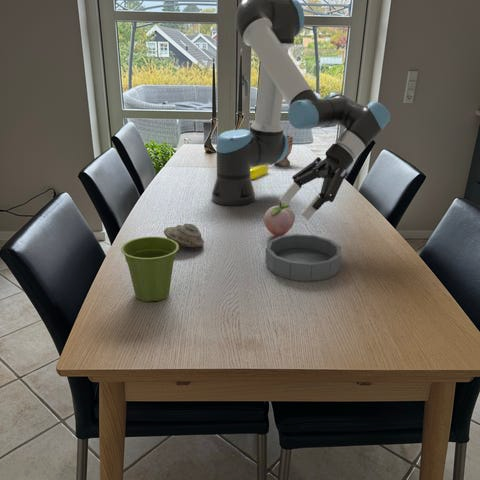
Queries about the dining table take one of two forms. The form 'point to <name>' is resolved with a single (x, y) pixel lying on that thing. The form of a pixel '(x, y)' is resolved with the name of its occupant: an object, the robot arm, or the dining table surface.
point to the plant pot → (150, 266)
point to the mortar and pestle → (285, 161)
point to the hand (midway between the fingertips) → (292, 209)
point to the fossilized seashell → (185, 235)
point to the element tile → (258, 171)
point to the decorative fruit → (279, 219)
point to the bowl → (303, 257)
